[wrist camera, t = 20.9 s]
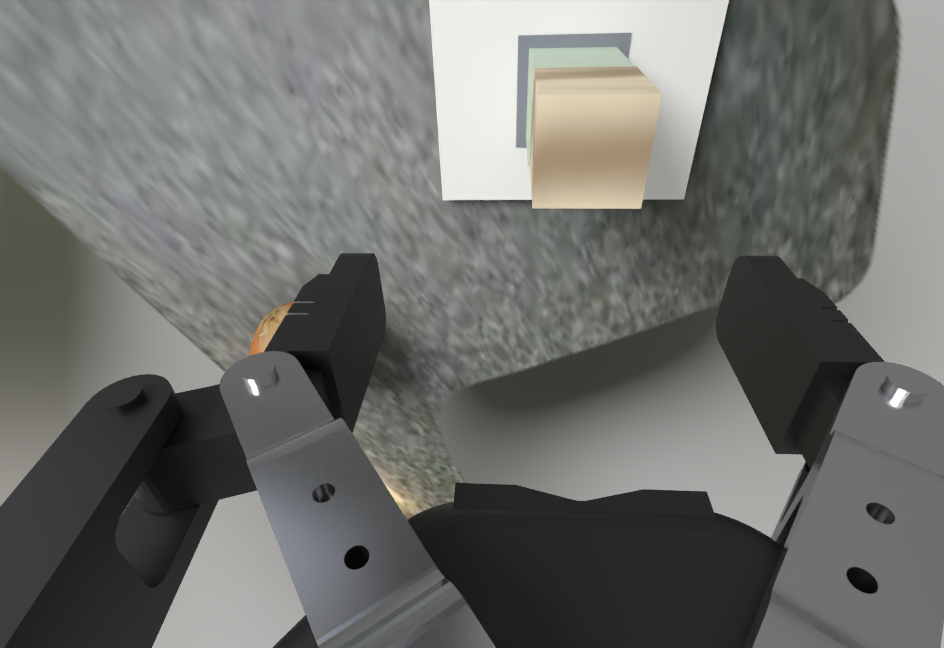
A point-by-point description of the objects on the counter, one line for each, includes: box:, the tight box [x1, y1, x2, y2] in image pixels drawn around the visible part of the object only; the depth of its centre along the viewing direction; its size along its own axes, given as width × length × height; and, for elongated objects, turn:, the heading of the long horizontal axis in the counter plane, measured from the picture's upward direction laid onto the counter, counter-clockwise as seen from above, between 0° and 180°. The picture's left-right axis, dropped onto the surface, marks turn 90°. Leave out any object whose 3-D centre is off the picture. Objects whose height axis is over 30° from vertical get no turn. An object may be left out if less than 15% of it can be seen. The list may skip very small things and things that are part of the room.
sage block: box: [526, 47, 634, 167], centre depth 32 cm, size 6×6×6 cm
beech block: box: [530, 66, 662, 209], centre depth 27 cm, size 6×6×6 cm
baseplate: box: [429, 0, 729, 200], centre depth 35 cm, size 15×18×1 cm
